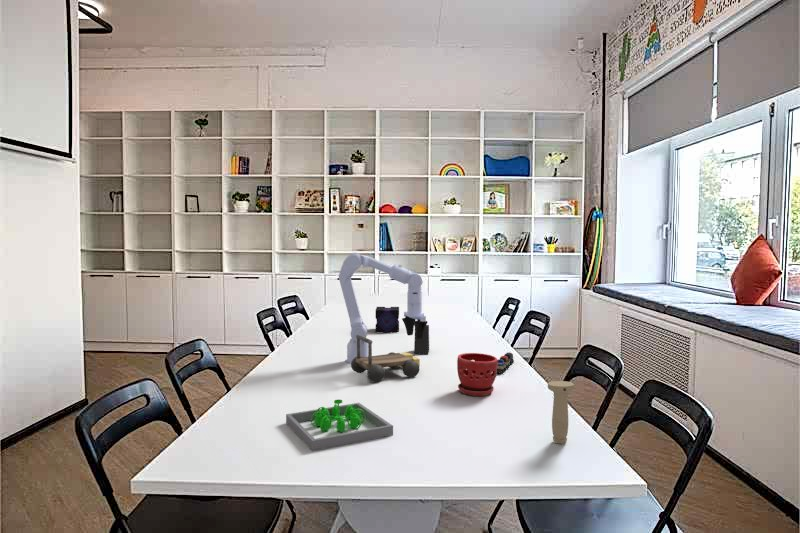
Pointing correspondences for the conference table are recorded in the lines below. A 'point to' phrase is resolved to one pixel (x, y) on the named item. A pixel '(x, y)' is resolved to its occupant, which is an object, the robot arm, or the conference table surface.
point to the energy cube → (387, 319)
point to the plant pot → (476, 373)
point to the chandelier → (338, 417)
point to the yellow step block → (412, 358)
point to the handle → (560, 409)
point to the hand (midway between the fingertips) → (414, 336)
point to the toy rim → (340, 439)
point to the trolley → (382, 363)
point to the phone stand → (422, 343)
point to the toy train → (504, 362)
